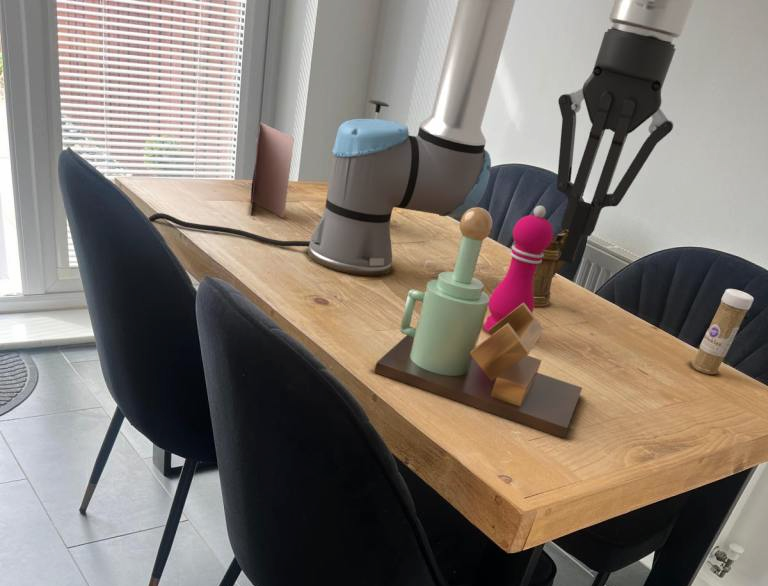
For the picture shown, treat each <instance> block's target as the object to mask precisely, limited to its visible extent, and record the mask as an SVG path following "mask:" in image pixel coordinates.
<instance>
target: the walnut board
mask: <svg viewBox="0 0 768 586" xmlns="http://www.w3.org/2000/svg"><path fill="white" fill-rule="evenodd" d="M413 340H414V337H411V336H408V335H405V336H404V337H403V338H402V339H401V340H400V341H399V342H397V344H395V346H393V347H392V348H391V349H390V350H389V351H388V352H387V353H385V355H383V356H382V357H381V358H380V359H379V360H378V361H376V363H375V367H374V373H375V374H378V375H381V376H384V377H386V378H389V379H392V380H395V381H397V382H400V383H403V384H406V385H409V386H412V387H415V388H418V389H420V390H424V391H427V392H429V393H433V394H435V395H438V396H441V397H444V398H447V399H450V400H453V401H455V402H458V403H461V404H463V405H466V406H470V407H473V408H474V409H475V408H476V409H477V410H481V411H484V412H487V413H490V414H493V415H495V416H499V417H502V418H504V419H507V420H510V421H513V422H515V423H519V424H521V425H524V426H526V427H530V428H533V429H536V430H538V431H542V432H545V433H547V434H550V435H553V436H556V437H559V438H561V439H564V437H565V435H566V433H567V431H568V428H569V426H570V422H571V419H572V417H573V413H574V411H575V409H576V406H577V403H578V400H579V398H580V395H581V393H582V390H583V387H581V386H579V385H575V384H572V383H570V382H567V381H564V380H561V379H558V378H555V377H552V376H549V375H546V374H543V373H540V372H537V375H536V378H535V380H534V382H533V384H532V385H531V387H530V389H529V391H528V393H527V395H526V397H525V399H524V400H523V402H522V404H521V406H520V407H519V406H516V405H513V404H510V403H507V402H504V401H502V400H499V399H496V398H493V397H491V394H492V391H493V388H494V384H495V381H496V378H497V377H496V378H495V379H493V380H492V381H491V380H490V378H489V377H488V376H487V375H486V373H485V372H484V371H483V370H482V368H481V367H480V366H479V364H478V363H477V362H476V361H475V359H474V358H473V359H472V363H471V366H470V370H469V372H468V373H466V374H464V375H460V376H448V375H441V374H437V373H433V372H430V371H428V370H425V369H423V368H421V367H419V366H418V365H416V364H415V363H414V362H413V361H412V360H411V358H410V353H411V349H412V344H413Z"/></svg>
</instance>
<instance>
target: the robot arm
mask: <svg viewBox="0 0 768 586" xmlns="http://www.w3.org/2000/svg"><path fill="white" fill-rule="evenodd" d="M515 2H516V0H457V3H456V9H455V12H454V17H453V21H452V26H451V30H450V33H449V39H448V43H447V47H446V50H445V51H446V52H445V56H444V61H443V64H442V68H441V72H440V77H439V82H438V85H437V89H436V94H435V98H434V102H433V107H432V111H431V114H430V115H429V117H427V118H426V119H424V120H423V121H421V122H420V124H419V128H418V132H417V134H416V135H417V136H416V135H410V132H409V128H408V126H407V125H406V124H403V123H400V122H397V121H391V120H386V119H379V118H377V119H375V118H355V119H349V120H346V121H344V122H342V123H341V124H340V126H339V127H338V129H337V133H336V137H335V141H334V145H333V148H332V159H331V166H330V167H331V168H330V173H329V174H330V175H329V179H328V180H329V181H328V187H327V193H326V199H325V206H324V211H323V213H322V215H321V217H320V219H319V221H318V223H317V225H316V228H315V230H314V232H313V233H312V235H311V238H310V240H305V241H304V240H279V239H278V240H277V239H273V238H268V237H265V236H262V235H258V234H255V233H253V232H249V231H245V230H241V229H236V228H232V227H227V226H225V227H224V226H219V225H208V224H203V223H201V224H200V223H194V222H188V221H184V220H181V219H178V218H176V217H175V216H172V215H169V214H166V213H164V212H163V213H162V212H157V213H154V214H151V215H150V216H149V217H148V218H149V220H150V221H149V222H154V221H157V220H166V221H169V222H171V223H173V224H175V225H177V226H179V227H183V228H187V229H193V230H201V231H209V232H218V233H223V234H224V233H226V234H232V235H237V236H241V237H245V238H248V239H251V240H254V241H258V242H261V243H264V244H268V245H272V246H277V247H278V246H279V247H308V248H307V254H308V256H309V258H311V259H312V260H313V261H314V262H316V263H318V264H319V265H322V266H324V267H327V268H329V269H332V270H336V271H339V272H342V273H347V274H352V275H358V276H382V275H386V274H387V273H389V272H390V271H391V268H392V264H393V250H392V240H391V239H392V238H391V230H390V228H391V227H390V225H391V224H390V223H391V218H392V213H393V210H394V208H395V209H402V210H409V211H415V212H421V213H426V214H427V213H428V214H433V215H438V216H440V217H457V218H462V216H463V214H464V213H465V212H466V211H467V210H469V209H471V208H474V207H478V205H479V203H480V202H481V200H482V199H483V196H484V194H485V192H486V190H487V187H488V184H489V181H490V176H491V172H490V169H491V167H492V159H491V155H490V153H489V152H488V151H487V150H486V149H485V147H486V143H487V140H486V138H485V136H484V133H483V131H482V125H483V121H484V117H485V114H486V110H487V106H488V102H489V99H490V95H491V92H492V88H493V83H494V80H495V77H496V76H495V75H496V72H497V69H498V65H499V61H500V58H501V54H502V51H503V47H504V45H505V44H504V43H505V40H506V36H507V32H508V29H509V25H510V22H511V18H512V14H513V10H514V7H515ZM693 3H694V0H614V2H613V6H612V9H611V10H610V11H611V12H610V14H609V21H610V23H612V26H611V28H607V31H604V34H603V37H602V40H601V44H600V47H599V50H598V54H597V57H596V60H595V63H594V66H593V68H592V69H593V70H592V71H591V73H590V75H589V76H588V78H587V79H586V80H585V82H584V83H583V85H582V88H581V89H578V90H575V91H572V92H571V93H564V94H562V95H560V96H559V98H558V101H557V102H558V107H559V110H560V115H561V132H560V141H559V142H560V143H559V155H558V166H557V179H556V189H557V190H558V192H561V193H562V194H563V195H565V196H566V197H567V199H568V201H567V204H566V208H565V210H564V211H565V212H564V214H563V217H562V220H561V224H560V225H561V229H562V230H563V229H566V230H569V232H568V235H567V238H566V241H565V244H564V247H563V250H562V253H561V252H560V253H561V256H560V255H559V256H560V259H559V260H561V261H564V263H568V264H572V263H573V262H574V260H575V258H576V256H577V252H578V250H579V247H580V245H581V241H582V238H583V235H584V236H586V237H590V236H591V235H592V234H593V233H594V231H595V229H596V227H597V223H598V221H599V217H600V215H601V212H602V210H603V208H606V207H607V208H608V207H617V206H618V205H619V204H620V203H621V202H622V200H623V199H624V197H625V195H626V194H627V192H628V191H629V189H630V187H631V185H632V184H633V183H634V181H635V179H636V178H637V176H638V175H639V173H640V171H641V170H642V168H643V167H644V165H645V163H646V162H647V160H648V159H649V157H650V156H651V154H652V152H653V151H654V149H655V147H656V146H657V144H658V143H659V142H661V141H662V140H663V139H664V138H665V137H667V136H668V135H669V134H670V133H671V132H672V131H673V129H674V122H673V121H672V120H669V119H668V117H667V116H666V115H665V113H664V112H663V110H662V109H661V106H662V89H663V86H664V83H665V81H666V77H667V74H668V72H669V69H670V67H671V63H672V60H673V57H674V55H675V52H676V50H677V49H676V48H675V46H676V45H675V44H673V41H674V38H675V39H678V38H679V37H681V35H682V33H683V30H684V27H685V25H686V22H687V19H688V16H689V14H690V11H691V8H692V5H693ZM583 100H584V103H585V107H586V111H587V114H588V118H589V121H590V123H591V128H590V131H589V134H588V135H589V136H588V138H587V142H586V145H585V148H584V151H583V154H582V157H581V161H580V163H579V166H578V170H577V173H576V175H575V179H574V182H572V172H573V169H572V168H573V162H574V161H573V159H574V151H575V140H576V128H577V113H579V112H580V111H581V109H582V102H583ZM649 118H652V120H651V123H650V124H649V126H648V132H649V134H650V135H648V136H647V138H646V139H645V140H644V142H643V143H642V144H641V147H640V148H639V150H638V152H637V153H636V154H635V157H634V158H633V160H632V162H631V163H630V164H629V166H628V168H627V169H626V171H625V173H624V175H623V176H622V177H621V179H620V180H619V183H617V186H616V188H615V189H614V191H613V192H612V193H608V192H609V189H610V187H611V183H612V182H613V181H612V180H613V178H614V175H615V172H616V169H617V166H618V163H619V160H620V158H621V155H622V151H623V149H624V146H625V143H626V141H627V138H628V135H629V134H631V133H633V132H634V131H635V130H636V129H637V128H639V127H640V126H641V125H642V124H644V123H645V122H646V121H648V120H649ZM606 130H609V131H611V132H613V136H612V140H611V143H610V147H609V149H608V152H607V155H606V157H605V162H604V164H603V166H602V170H601V173H600V176H599V179H598V182H597V185H596V188H595V190H594V194H593V197H592V200H591V202H587V201H584V200H582V198H583V197H584V194H585V190H586V189H587V188H586V187H587V184H588V183H589V182H588V181H589V179H590V175H591V172H592V169H593V166H594V164H595V161H596V157H597V155H598V152H599V148H600V145H601V143H602V140H603V137H604V135H605V132H606ZM129 425H130V426H133V425H132V424H131V423H130V424H129Z"/></svg>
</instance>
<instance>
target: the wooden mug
mask: <svg viewBox="0 0 768 586" xmlns="http://www.w3.org/2000/svg"><path fill="white" fill-rule="evenodd" d="M568 232H569V230H566V229H563V228H562V231H561V232H560V233H556V234H555V235H554V236H553V238H552V241H551V243H550V245H549V246H548V247H547V248H546V249H544V250H543V251H542V252H543V254H544V256H543V257H542V262H541V263H539V264H538V265H537V267H536V270H535V273H534V276H533V296H534V307H545V306H548V305H549V304H550V300H551V286H552V281H553V278H554V277H555V276H556V274H557V273H558V272H559V270H560V269H561V268H562V266H563V265H564V264H565V262H564V261H561V260H559V259H560V256H561V253H562V250H563V247H564V244H565V241H566V238H567V235H568ZM559 249H560V251H559Z"/></svg>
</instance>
